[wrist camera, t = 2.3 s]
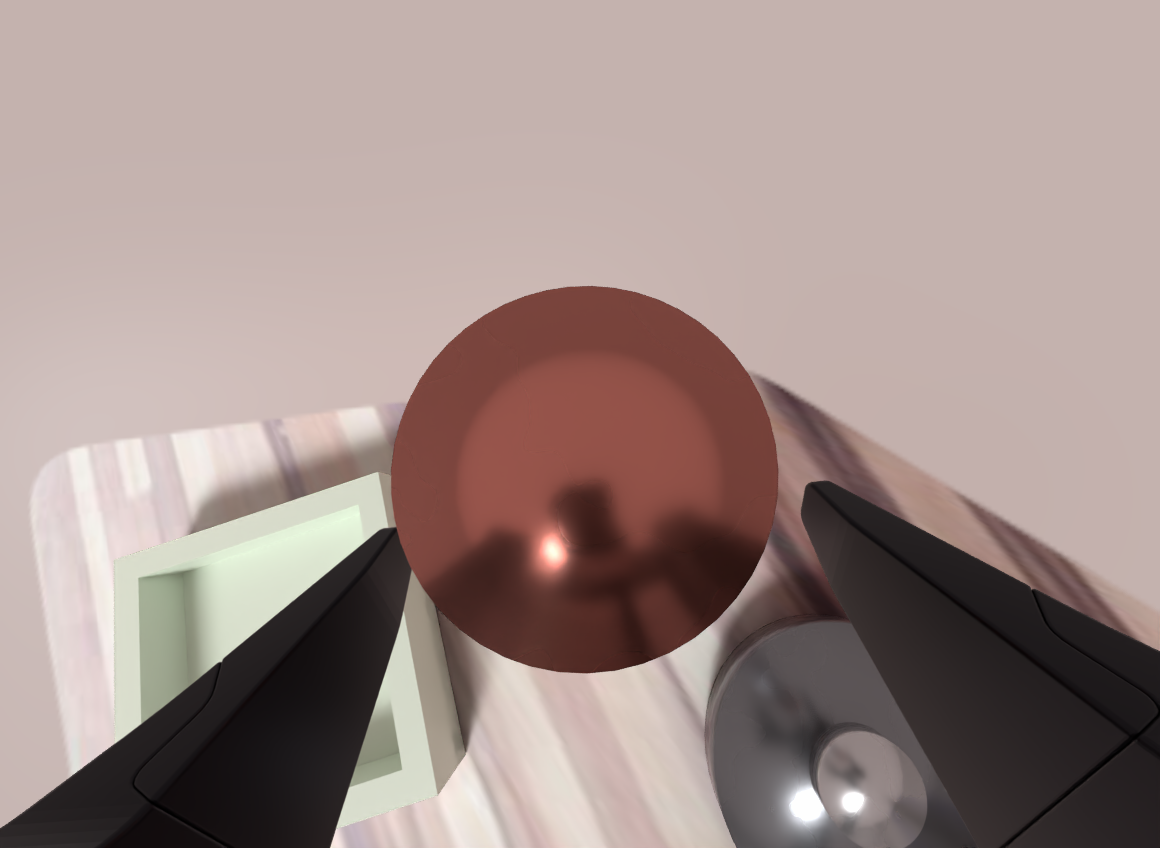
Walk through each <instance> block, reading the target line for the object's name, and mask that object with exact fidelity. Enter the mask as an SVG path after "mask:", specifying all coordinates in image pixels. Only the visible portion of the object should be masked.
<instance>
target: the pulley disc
mask: <svg viewBox="0 0 1160 848" xmlns="http://www.w3.org/2000/svg"><path fill="white" fill-rule="evenodd" d="M705 750H706V758H707V764H708V770H709V774H710V778H711V782H712V785H713V789H714V792H715V795H716V797H717V800H718V803H719V806H720V808H721V811H722V814H723V816H724V819H725V822H726V824H727V827H728V829H729V832H730V834H731V837H732V839H733V841H734V843H735V845H736V847H737V848H978V847H977V845H976V843H975V841H974V839H973V838H972V836H971V834H970V832H969V831H968V829H967V827H966V825H965V824H964V822H963V820H962V818H961V816H960V815H959V813H958V811H957V809H956V808H955V806H954V804H953V802H952V801H951V799H950V797H949V795H948V794H947V792H946V790H945V788H944V786H943V785H942V783H941V781H940V779H939V778H938V776H937V774H936V772H935V771H934V769H933V767H932V765H931V763H930V762H929V760H928V758H927V756H926V755H925V753H924V751H923V749H922V748H921V746H920V744H919V742H918V741H917V739H916V737H915V735H914V733H913V732H912V730H911V728H910V726H909V725H908V723H907V721H906V719H905V718H904V716H903V714H902V712H901V710H900V709H899V707H898V705H897V703H896V702H895V700H894V698H893V696H892V695H891V693H890V691H889V689H888V688H887V686H886V684H885V682H884V680H883V679H882V677H881V675H880V673H879V672H878V670H877V668H876V666H875V665H874V663H873V661H872V659H871V657H870V656H869V654H868V652H867V650H866V649H865V647H864V645H863V643H862V642H861V640H860V638H859V636H858V635H857V633H856V631H855V629H854V627H853V626H852V624H851V622H850V620H849V619H845V618H842V617H836V616H830V615H813V614H809V615H800V616H793V617H789V618H785V619H781V620H778V621H776V622H773V623H771V624H768V625H766V626H764V627H762V628H761V629H759V630H757V631H756V632H754V633H752V634H751V635H750V636H749V637H748V638H746V639H745V640H744V641H743V642H742V643H740V645H739V646H738V647H737V648H736V649H735V650H734V651H733V652H732V653H731V655H730V656H729V658H728V659H727V661H726V662H725V664H724V665H723V667H722V668H721V670H720V672H719V674H718V676H717V678H716V680H715V683H714V686H713V689H712V692H711V695H710V698H709V702H708V708H707V713H706V722H705Z"/></svg>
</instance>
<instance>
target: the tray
mask: <svg viewBox="0 0 1160 848" xmlns="http://www.w3.org/2000/svg"><path fill="white" fill-rule="evenodd" d="M390 527H396V523H395V519H394V513H393V505H392V497H391V475H390V474H385V473H381V472H376V473H373V474H370V475H367V476H364V477H361V478H358V479H355V480H352V481H349V482H346V483H343V484H340V485H337V486H334V487H331V488H328V489H325V490H322V491H319V492H316V493H313V494H310V495H307V496H304V497H301V498H298V499H295V500H292V501H289V502H286V503H283V504H280V505H277V506H274V507H271V508H268V509H265V510H262V511H259V512H256V513H253V514H250V515H247V516H244V517H241V518H238V519H235V520H232V521H229V522H226V523H223V524H220V525H217V526H214V527H211V528H208V529H205V530H202V531H199V532H196V533H193V534H190V535H187V536H184V537H181V538H178V539H175V540H172V541H169V542H166V543H163V544H160V545H157V546H154V547H151V548H148V549H145V550H142V551H139V552H136V553H133V554H130V555H127V556H124V557H121V558H118V559H115V560H114V721H115V743H116V742H118V741H119V740H120V739H122V738H123V737H124V736H126V735H127V734H128V733H130V732H131V731H132V730H134V729H135V728H136V727H138V726H139V725H140V724H141V723H143V722H144V721H145V720H147V719H148V718H149V717H151V716H152V715H153V714H155V713H156V712H157V711H159V710H160V709H161V708H162V707H164V706H165V705H166V704H167V703H169V702H170V701H171V700H172V699H174V698H175V697H176V696H177V695H179V694H180V693H181V692H182V691H184V690H185V689H186V688H187V687H189V686H190V685H191V684H192V683H194V682H195V681H196V680H197V679H199V678H200V677H201V676H202V675H203V674H205V673H206V672H207V671H208V670H209V669H211V668H212V667H213V666H214V665H215V664H217V663H218V662H222V660H223V658H224V657H225V656H227V655H228V654H229V653H230V652H231V651H233V650H234V649H235V648H236V647H238V646H239V645H240V644H241V643H242V642H244V641H245V640H246V639H247V638H248V637H250V636H251V635H252V634H253V633H255V632H256V631H257V630H258V629H259V628H261V627H262V626H263V625H264V624H265V623H267V622H268V621H269V620H270V619H272V618H273V617H274V616H275V615H276V614H278V613H279V612H280V611H281V610H282V609H284V608H285V607H286V606H287V605H289V604H290V603H291V602H292V601H293V600H295V599H296V598H297V597H298V596H300V595H301V594H302V593H303V592H304V591H306V590H307V589H308V588H309V587H310V586H312V585H313V584H314V583H315V582H317V581H318V580H319V579H320V578H321V577H323V576H324V575H325V574H326V573H327V572H329V571H330V570H331V569H332V568H334V567H335V566H336V565H337V564H338V563H340V562H341V561H342V560H343V559H344V558H346V557H347V556H348V555H349V554H351V553H352V552H353V551H354V550H355V549H357V548H358V547H359V546H360V545H361V544H363V543H364V542H365V541H366V540H368V539H369V538H370V537H371V536H372V535H374V534H375V533H376V532H377V531H379V530H380V529H383V528H390ZM465 755H466V754H465V749H464V744H463V740H462V735H461V730H460V725H459V720H458V715H457V710H456V705H455V700H454V696H453V691H452V686H451V681H450V676H449V671H448V666H447V661H446V656H445V652H444V647H443V642H442V637H441V632H440V627H439V622H438V617H437V612H436V608H435V604H434V602H433V601H432V600H431V598H430V597H429V596H428V595H427V593H426V592H425V591H424V589H423V588H422V586H421V584H420V583H419V581H418V579H417V577H416V576H415V574H414V572H413V570H412V572H411V577H410V582H409V587H408V591H407V596H406V601H405V606H404V611H403V616H402V620H401V624H400V628H399V631H398V635H397V638H396V641H395V644H394V648H393V651H392V654H391V657H390V660H389V663H388V667H387V670H386V673H385V676H384V679H383V682H382V685H381V689H380V692H379V695H378V698H377V701H376V704H375V708H374V711H373V714H372V717H371V720H370V723H369V726H368V730H367V733H366V736H365V739H364V742H363V745H362V749H361V752H360V755H359V758H358V761H357V764H356V767H355V771H354V774H353V777H352V780H351V783H350V786H349V790H348V793H347V796H346V799H345V802H344V805H343V808H342V812H341V815H340V818H339V821H338V824H337V827H336V829H338V828H341V827H344V826H347V825H350V824H353V823H356V822H359V821H362V820H365V819H368V818H371V817H374V816H377V815H380V814H383V813H386V812H389V811H392V810H395V809H398V808H401V807H404V806H408V805H411V804H414V803H417V802H420V801H423V800H426V799H429V798H432V797H435V796H438V794H439V793H440V792H441V790H442V789H443V787H444V786H445V784H446V783H447V781H448V780H449V778H450V777H451V775H452V774H453V772H454V771H455V769H456V768H457V766H458V765H459V764H460V762H461V761H462V759H463V758H464V756H465Z"/></svg>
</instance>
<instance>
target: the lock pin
mask: <svg viewBox="0 0 1160 848" xmlns="http://www.w3.org/2000/svg"><path fill="white" fill-rule="evenodd" d="M777 495H778V463H777V453H776V444H775V440H774V436H773V432H772V427H771V423H770V419H769V417H768V414H767V412H766V409H765V406H764V404H763V401H762V399H761V396H760V394H759V393H758V391H757V389H756V387H755V385H754V383H753V382H752V380H751V378H750V376H749V374H748V373H747V372H746V370H745V369H744V367H743V366H742V365H741V363H740V362H739V361H738V359H737V358H736V357H735V355H734V354H733V353H732V352H731V351H730V350H729V349H728V348H727V347H726V346H725V344H724V343H722V341H721V340H720V339H719V338H718V337H717V336H715V335H714V334H713V333H712V332H711V331H709V330H708V329H707V328H706V327H705V326H703V325H702V324H701V323H700V322H698V321H697V320H695V319H693V318H692V317H690V316H689V315H687V314H685V313H684V312H682V311H681V310H679V309H677V308H675V307H673V306H671V305H669V304H666V303H664V302H662V301H660V300H657V299H655V298H652V297H649V296H646V295H642V294H640V293H636V292H632V291H627V290H622V289H617V288H608V287H596V286H582V287H581V286H580V287H565V288H558V289H552V290H546V291H542V292H539V293H535V294H531V295H528V296H524V297H522V298H519V299H517V300H514V301H512V302H509V303H507V304H504V305H502V306H501V307H499V308H497V309H495V310H493V311H491V312H489V313H488V314H486V315H484V316H483V317H481V318H480V319H478V320H477V321H476V322H474V323H473V324H471V325H470V326H468V327H467V328H465V329H464V330H463V331H462V332H461V333H460V334H459V335H458V336H457V337H455V338H454V339H453V340H452V341H451V342H450V343H449V344H448V345H447V346H446V347H445V348H444V349H443V350H442V351H441V352H440V354H439V355H438V356H437V357H436V358H435V359H434V360H433V362H432V363H431V365H430V366H429V367H428V369H427V370H426V372H425V373H424V375H423V376H422V377H421V379H420V380H419V382H418V385H417V386H416V388H415V390H414V392H413V394H412V395H411V397H410V399H409V401H408V404H407V406H406V409H405V411H404V414H403V416H402V419H401V422H400V425H399V429H398V433H397V437H396V441H395V444H394V452H393V459H392V467H391V497H392V505H393V513H394V519H395V523H396V527H397V531H398V535H399V539H400V543H401V545H402V548H403V550H404V552H405V555H406V557H407V560H408V562H409V565H410V567H411V569H412V570H413V572H414V574H415V576H416V577H417V579H418V581H419V583H420V584H421V586H422V588H423V589H424V591H425V592H426V593H427V595H428V596H429V597H430V598H431V600H432V601H433V602H434V604H435V605H436V606H437V607H438V609H439V610H440V611H441V612H442V613H443V614H444V615H445V616H446V617H447V618H448V619H449V620H450V621H451V622H452V623H453V624H454V625H456V626H457V627H458V628H459V629H460V630H461V631H463V632H464V633H466V634H467V635H468V636H470V637H471V638H472V639H474V640H475V641H476V642H478V643H479V644H481V645H483V646H485V647H486V648H488V649H490V650H492V651H494V652H496V653H498V654H500V655H502V656H503V657H506V658H508V659H511V660H514V661H517V662H520V663H522V664H525V665H528V666H531V667H536V668H541V669H546V670H551V671H556V672H569V673H596V672H606V671H616V670H620V669H624V668H628V667H632V666H636V665H640V664H644V663H646V662H648V661H651V660H653V659H656V658H658V657H660V656H663V655H665V654H668V653H670V652H672V651H673V650H675V649H677V648H678V647H680V646H682V645H683V644H685V643H687V642H688V641H690V640H692V639H693V638H695V637H696V636H697V635H699V634H700V633H701V632H702V631H704V630H705V629H706V628H707V627H708V626H710V625H711V624H712V623H713V622H715V621H716V620H717V619H718V618H719V617H720V616H721V615H722V614H723V612H724V611H725V610H726V609H727V608H728V607H729V606H730V605H731V604H732V603H733V602H734V600H735V599H736V598H737V597H738V595H739V594H740V592H741V591H742V589H743V588H744V586H745V585H746V583H747V582H748V580H749V579H750V578H751V576H752V574H753V572H754V570H755V568H756V566H757V564H758V562H759V560H760V558H761V556H762V554H763V552H764V549H765V546H766V543H767V540H768V537H769V534H770V531H771V528H772V525H773V520H774V514H775V508H776V502H777Z"/></svg>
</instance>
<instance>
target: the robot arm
mask: <svg viewBox="0 0 1160 848" xmlns="http://www.w3.org/2000/svg"><path fill="white" fill-rule="evenodd" d="M801 518H802V522H803V524H804V526H805V529H806V531H807V533H808V536H809V538H810V540H811V543H812V545H813V547H814V550H815V552H816V554H817V557H818V559H819V561H820V564H821V566H822V568H823V571H824V573H825V575H826V577H827V580H828V582H829V584H830V586H831V588H832V590H833V592H834V594H835V596H836V597H837V599H838V601H839V603H840V604H841V606H842V608H843V610H844V612H845V613H846V615H847V617H848V619H849V620H850V622H851V624H852V626H853V627H854V629H855V631H856V633H857V635H858V636H859V638H860V640H861V642H862V643H863V645H864V647H865V649H866V650H867V652H868V654H869V656H870V657H871V659H872V661H873V663H874V665H875V666H876V668H877V670H878V672H879V673H880V675H881V677H882V679H883V680H884V682H885V684H886V686H887V688H888V689H889V691H890V693H891V695H892V696H893V698H894V700H895V702H896V703H897V705H898V707H899V709H900V710H901V712H902V714H903V716H904V718H905V719H906V721H907V723H908V725H909V726H910V728H911V730H912V732H913V733H914V735H915V737H916V739H917V741H918V742H919V744H920V746H921V748H922V749H923V751H924V753H925V755H926V756H927V758H928V760H929V762H930V763H931V765H932V767H933V769H934V771H935V772H936V774H937V776H938V778H939V779H940V781H941V783H942V785H943V786H944V788H945V790H946V792H947V794H948V795H949V797H950V799H951V801H952V802H953V804H954V806H955V808H956V809H957V811H958V813H959V815H960V816H961V818H962V820H963V822H964V824H965V825H966V827H967V829H968V831H969V832H970V834H971V836H972V838H973V839H974V841H975V843H976V845H977V847H978V848H1160V651H1158V650H1156V649H1154V648H1152V647H1150V646H1148V645H1146V644H1144V643H1142V642H1139V641H1137V640H1135V639H1133V638H1131V637H1129V636H1127V635H1125V634H1123V633H1121V632H1119V631H1117V630H1114V629H1112V628H1110V627H1108V626H1106V625H1104V624H1102V623H1100V622H1099V621H1097V620H1095V619H1093V618H1091V617H1089V616H1087V615H1085V614H1083V613H1081V612H1079V611H1077V610H1075V609H1073V608H1071V607H1069V606H1067V605H1065V604H1063V603H1061V602H1059V601H1057V600H1055V599H1054V598H1052V597H1050V596H1048V595H1046V594H1044V593H1042V592H1040V591H1038V590H1036V589H1032V590H1031V588H1030V586H1028V585H1027V584H1025V583H1023V582H1021V581H1019V580H1017V579H1015V578H1013V577H1011V576H1009V575H1008V574H1006V573H1004V572H1002V571H1000V570H998V569H996V568H994V567H992V566H990V565H988V564H987V563H985V562H983V561H981V560H979V559H977V558H975V557H973V556H971V555H969V554H968V553H966V552H964V551H962V550H960V549H958V548H956V547H954V546H952V545H950V544H948V543H947V542H945V541H943V540H941V539H939V538H937V537H935V536H933V535H931V534H929V533H927V532H926V531H924V530H922V529H920V528H918V527H916V526H914V525H912V524H910V523H908V522H906V521H905V520H903V519H901V518H899V517H897V516H895V515H893V514H891V513H889V512H887V511H886V510H884V509H882V508H880V507H878V506H876V505H874V504H872V503H870V502H868V501H866V500H865V499H863V498H861V497H859V496H857V495H855V494H853V493H851V492H849V491H847V490H845V489H844V488H842V487H840V486H838V485H836V484H834V483H832V482H830V481H817V482H810V483H808V484H807V485H806V487H805V491H804V497H803V502H802V507H801ZM411 572H412V569H411V567H410V565H409V562H408V560H407V557H406V555H405V552H404V550H403V548H402V545H401V543H400V539H399V535H398V531H397V527H390V528H383V529H380V530H379V531H377V532H376V533H375V534H374V535H372V536H371V537H370V538H369V539H368V540H366V541H365V542H364V543H363V544H361V545H360V546H359V547H358V548H357V549H355V550H354V551H353V552H352V553H351V554H349V555H348V556H347V557H346V558H344V559H343V560H342V561H341V562H340V563H338V564H337V565H336V566H335V567H334V568H332V569H331V570H330V571H329V572H327V573H326V574H325V575H324V576H323V577H321V578H320V579H319V580H318V581H317V582H315V583H314V584H313V585H312V586H310V587H309V588H308V589H307V590H306V591H304V592H303V593H302V594H301V595H300V596H298V597H297V598H296V599H295V600H293V601H292V602H291V603H290V604H289V605H287V606H286V607H285V608H284V609H282V610H281V611H280V612H279V613H278V614H276V615H275V616H274V617H273V618H272V619H270V620H269V621H268V622H267V623H265V624H264V625H263V626H262V627H261V628H259V629H258V630H257V631H256V632H255V633H253V634H252V635H251V636H250V637H248V638H247V639H246V640H245V641H244V642H242V643H241V644H240V645H239V646H238V647H236V648H235V649H234V650H233V651H231V652H230V653H229V654H228V655H227V656H225V657H224V658H223V660H222V662H218V663H217V664H215V665H214V666H213V667H212V668H211V669H209V670H208V671H207V672H206V673H205V674H203V675H202V676H201V677H200V678H199V679H197V680H196V681H195V682H194V683H192V684H191V685H190V686H189V687H187V688H186V689H185V690H184V691H182V692H181V693H180V694H179V695H177V696H176V697H175V698H174V699H172V700H171V701H170V702H169V703H167V704H166V705H165V706H164V707H162V708H161V709H160V710H159V711H157V712H156V713H155V714H153V715H152V716H151V717H149V718H148V719H147V720H145V721H144V722H143V723H141V724H140V725H139V726H138V727H136V728H135V729H134V730H132V731H131V732H130V733H128V734H127V735H126V736H124V737H123V738H122V739H120V740H119V741H118V742H116V743H115V744H114V745H112V746H111V747H110V748H108V749H107V750H106V751H104V752H103V753H102V754H100V755H99V756H98V757H96V758H95V759H94V760H92V761H91V762H90V763H88V764H87V765H86V766H84V767H83V768H82V769H80V770H79V771H78V772H76V773H75V774H74V775H72V776H71V777H70V778H68V779H67V780H66V781H64V782H63V783H62V784H61V785H59V786H58V787H56V788H55V789H54V790H52V791H51V792H50V793H48V794H47V795H46V796H44V797H43V798H42V799H40V800H39V801H38V802H36V803H35V804H34V805H32V806H31V807H30V808H28V809H27V810H26V811H24V812H23V813H22V814H20V815H19V816H17V817H16V818H15V819H13V820H12V821H10V822H9V823H8V824H6V825H5V826H3V827H2V828H0V848H330V846H331V843H332V840H333V837H334V834H335V830H336V827H337V824H338V821H339V818H340V815H341V812H342V808H343V805H344V802H345V799H346V796H347V793H348V790H349V786H350V783H351V780H352V777H353V774H354V771H355V767H356V764H357V761H358V758H359V755H360V752H361V749H362V745H363V742H364V739H365V736H366V733H367V730H368V726H369V723H370V720H371V717H372V714H373V711H374V708H375V704H376V701H377V698H378V695H379V692H380V689H381V685H382V682H383V679H384V676H385V673H386V670H387V667H388V663H389V660H390V657H391V654H392V651H393V648H394V644H395V641H396V638H397V635H398V631H399V628H400V624H401V620H402V616H403V611H404V606H405V601H406V596H407V591H408V587H409V582H410V577H411Z"/></svg>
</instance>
